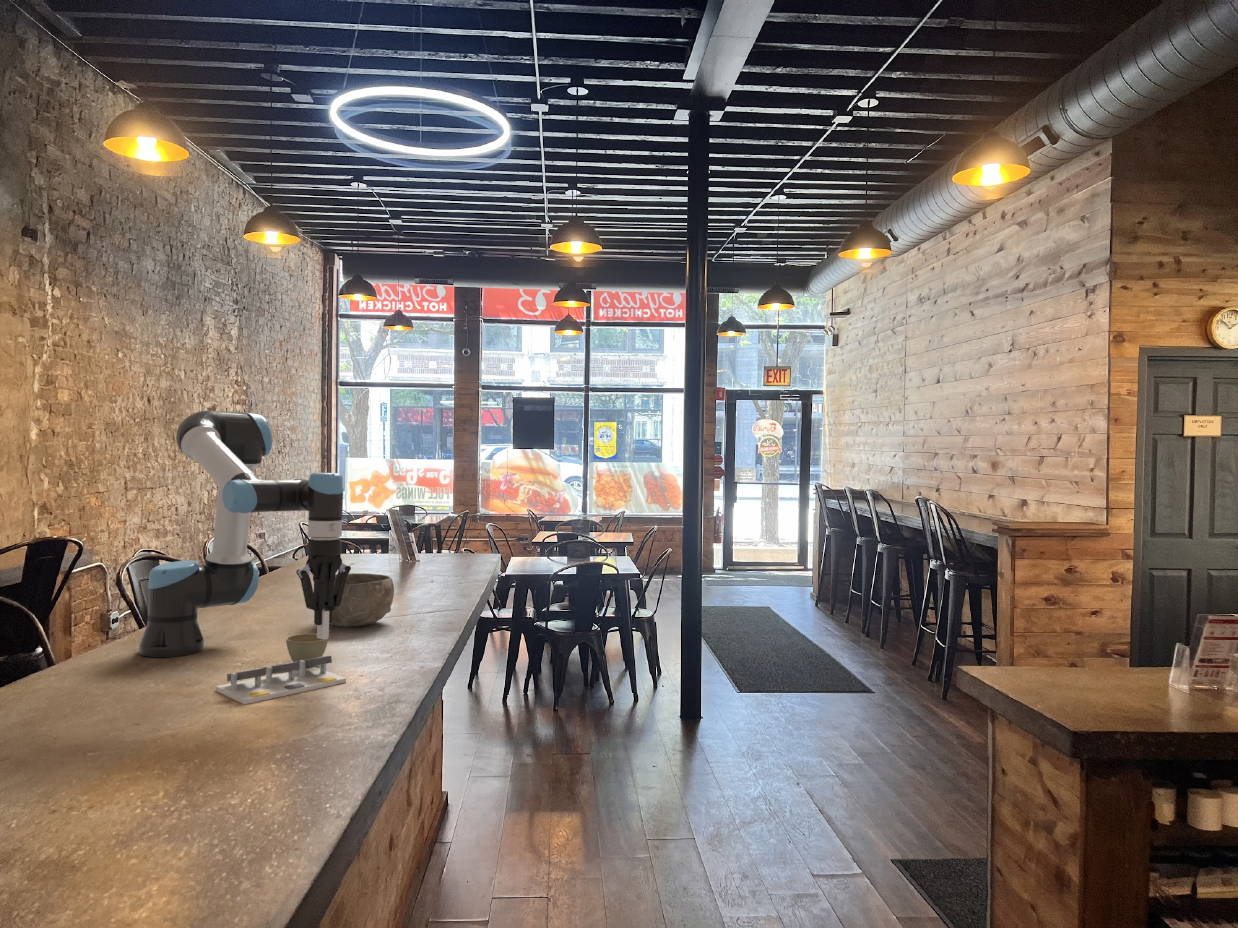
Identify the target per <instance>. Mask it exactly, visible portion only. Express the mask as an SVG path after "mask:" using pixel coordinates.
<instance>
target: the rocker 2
mask: <svg viewBox="0 0 1238 928" xmlns="http://www.w3.org/2000/svg"><path fill="white" fill-rule="evenodd" d="M291 662H292V663H289V662H286V663H281V664H274V665H270V667H272V674H280V673H286V672H289V671H291V670H295V671H296V670H299V669H300V665H299V662H293V661H291ZM266 667H267V666H265V667H263V668H265V673H266Z"/></svg>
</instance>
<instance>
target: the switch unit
mask: <svg viewBox="0 0 1238 928" xmlns="http://www.w3.org/2000/svg"><path fill="white" fill-rule="evenodd" d="M321 657H324V655H323V656H321ZM292 662H293V661H289V662H288V663H292ZM299 665H300V669H296V670H291V671H285V672H280V673H275V674H273V673H272V667H270V666H271V665H270V666H269V665H267V666H265V667H266V675H265V676H259V677H254V678H249V679H244V680H242V681H241V680H237V674H236V673H237V672H231V673H230V674H231V681H230V682H229V683H225V684H219V685H215V692H218V693H220V694H222V695H224V696H226V697H227V698H228V697H229V698H230V699H232V700H234V701H236V702H238V703H241V704H242V705H247V704H254V703H257V702H261V701H262V702H263V701H267V700H271V699H275V698H280V697H285V696H290V695H294V694H298V693H305V692H308V691H314V690H317V689H322V688H327V687H332V686H335V685H336V686H337V685H340V684H346V683H347V679H346V677H344V676H342V675H339V674H335V673H333V672H330V671H327V664H322V665H319V666H320V667H317V666H315V667H311V668H305V661H303V660H300V661H299ZM259 668H260V667H259ZM259 668H258V667H256V668H255V669H259Z"/></svg>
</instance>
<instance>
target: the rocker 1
mask: <svg viewBox="0 0 1238 928" xmlns="http://www.w3.org/2000/svg"><path fill="white" fill-rule="evenodd" d="M235 673H236V674H237V681H241V680H242V681H243V680H250V679H255V677H259V676H261V677H265V676H266V673H265V668H264V667H259V669H256V668H254V669H248V670H243V671H239V672H235ZM226 679H227V682H231V673H227V674H226Z"/></svg>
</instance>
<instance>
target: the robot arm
mask: <svg viewBox="0 0 1238 928" xmlns="http://www.w3.org/2000/svg"><path fill="white" fill-rule="evenodd" d="M175 434H176V435H175V440H176V443H177V446H178V448H179V450H180V451H181V452H182V454H183V455H184V456H185V458H188V459H190V460H191V461H192V460H193V461H195V462H196V463H198V464H199V465H200V467H202V469H203V470H204V471H205V472H206V473H207V474H208V475H209V476H210V477H211V478H212V479H213V480H214V481H215V482H216V483H217V485H218V487H217V499H216V510H215V518H214V519H215V520H214V528H213V529H214V530H213V540H212V550H211V551H210V552H209V553H207V555H206V556H205V560H204V561H205V562H204V564H201V565H200V563H199V562H198V561H197V560H194V559H193V560H191V559H189V560H188V559H187V560H178V561H171V562H166V563H163V564H160V565H156V566H154V567H153V568H151V570H150V571H149V575H148V582H147V591H148V592H147V593H148V594H147V595H148V596H147V624H146V626H145V629H144V631H143V634H142V637H141V639H140V642H139V646H138V654H139V655H141V656H144V657H148V658H172V657H180V656H181V657H182V656H187V655H192V654H195V653H198V652H202V651H203V650H204V648H205V639H204V638H205V637H204V635H203V632H202V630H201V627H200V623H199V621H198V611H199V609H205V608H213V607H214V608H215V607H223V606H224V607H225V606H236V605H238V604H245V603H247V602H249V601H250V600H251V598H253V597H254V595H255V593H256V592H257V589H258V586H259V579H260V578H259V576H260V574H259V573H258V572H259V569H258V566H257V565H256V563H255V562H254V561H252V559H253V557H252V556H251V555H250V554H248V552H247V551H248V550H247V549H248V541H249V531H250V529H249V528H250V519H251V513H268V512H269V513H270V512H276V513H277V512H300V511H301V512H308V524H307V527H308V528H307V536H308V538H310V539H308V540H307V556H308V557H307V560H306V562H305V566H304V567H302V568H298V569H296V571H295V572H296V574H297V576H298V578H299V580H300V583H301V589H302V594H303V598H304V602H305V603H304V604H305V607H306V609H308V610H312V611H313V613H314V614H313V615H314V616H313V619H314V620H313V622H314V625H316V634H317V638H319V639H328V640H329V639H330V638H329V637H330V636H329V635H330V623H332V611H334V610H335V607H339V606H340V604H341V600H342V595H343V591H344V587H345V583H346V578H347V575H348V574H350V571H351V570H352V567H351V566H350V565H347V564H345V563H343V558H342V556H341V555H342V549H343V548H342V547H343V546H342V545H343V543H342V541H343V540H342V539H341V537H342V533H343V531H342V529H343V508H344V507H343V504H344V503H343V502H344V490H345V489H344V484H343V483H344V482H343V481H344V480H343V475H342V474H340V473H338V472H312V473H311V474H310V475H309V479H308V480H307V479H305V478H299V479H298V478H295V479H260V478H259V477H258V475H256V474H255V471H256V468H257V467H259V466H260V465H261V464H262V459H263V458H262V457H265V456H268V455H269V454H270V453H271V450H272V447H273V433H272V429H271V427H270V424H269V421H268V420H267V418H266V417H264V416H263V415H261V414H258V413H252V412H245V411H243V412H241V411H238V412H237V411H223V410H222V411H218V410H217V411H216V410H202V411H201V410H200V411H197V412H193V413H191V414H189V415H188V416H187V417H185V418H184V419H183V420H182V421H181V422H180V424H179V426H178V428H177V430H176V433H175ZM311 574H312V580H311V577H310V576H311ZM335 574H337V578H336V582H335V586H334V581H335ZM312 582H313V584H312ZM312 585H313V586H312ZM313 590H314V593H313ZM323 604H324V609H325V610H324V609H323Z"/></svg>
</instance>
